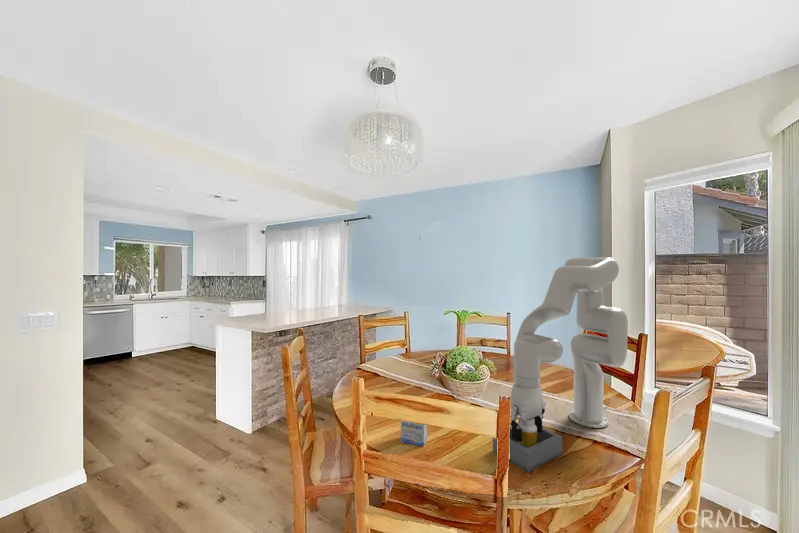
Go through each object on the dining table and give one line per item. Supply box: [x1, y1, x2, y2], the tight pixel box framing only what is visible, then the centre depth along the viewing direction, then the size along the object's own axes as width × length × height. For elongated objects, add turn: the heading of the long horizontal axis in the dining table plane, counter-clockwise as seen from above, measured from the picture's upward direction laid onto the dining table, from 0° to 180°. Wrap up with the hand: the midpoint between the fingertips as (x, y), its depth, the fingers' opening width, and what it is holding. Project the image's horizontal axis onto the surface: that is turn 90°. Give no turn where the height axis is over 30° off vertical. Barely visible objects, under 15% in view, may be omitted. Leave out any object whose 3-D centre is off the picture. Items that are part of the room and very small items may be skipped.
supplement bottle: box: [518, 418, 537, 448], centre depth 102 cm, size 5×5×10 cm
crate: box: [492, 425, 563, 473], centre depth 102 cm, size 16×13×6 cm
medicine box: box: [400, 420, 428, 447], centre depth 109 cm, size 8×4×9 cm, turn 73°
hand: (527, 435), depth 102 cm, fingers open, 9 cm apart
